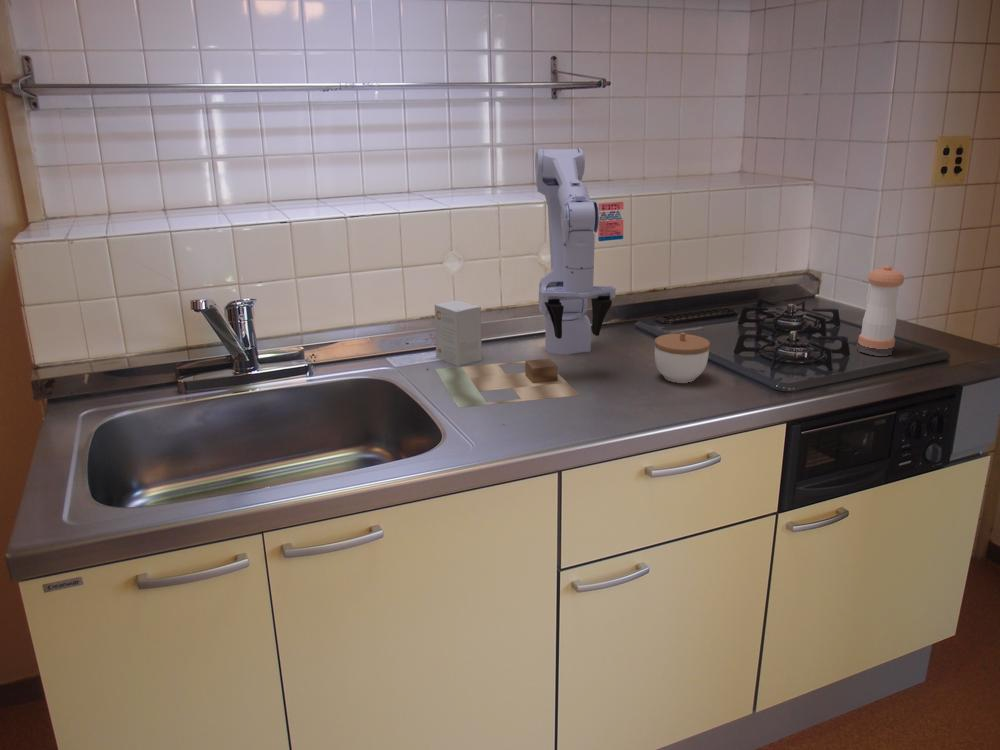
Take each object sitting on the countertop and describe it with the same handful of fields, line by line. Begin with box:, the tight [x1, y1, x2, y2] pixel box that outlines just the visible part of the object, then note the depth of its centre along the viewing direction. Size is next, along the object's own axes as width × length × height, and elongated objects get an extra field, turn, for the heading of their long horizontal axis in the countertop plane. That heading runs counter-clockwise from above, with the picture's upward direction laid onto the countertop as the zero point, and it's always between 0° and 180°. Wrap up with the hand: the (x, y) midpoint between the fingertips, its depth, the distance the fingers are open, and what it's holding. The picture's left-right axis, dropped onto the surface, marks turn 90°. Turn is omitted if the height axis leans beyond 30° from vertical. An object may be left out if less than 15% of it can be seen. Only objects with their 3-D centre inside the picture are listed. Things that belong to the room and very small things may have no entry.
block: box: [524, 358, 559, 383], centre depth 159 cm, size 5×5×3 cm
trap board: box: [434, 360, 581, 409], centre depth 158 cm, size 23×22×2 cm
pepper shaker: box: [857, 265, 905, 349], centre depth 176 cm, size 7×7×19 cm
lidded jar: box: [654, 332, 711, 384], centre depth 162 cm, size 11×11×9 cm
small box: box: [434, 299, 483, 367], centre depth 170 cm, size 8×6×13 cm
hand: (577, 335), depth 159 cm, fingers open, 7 cm apart
